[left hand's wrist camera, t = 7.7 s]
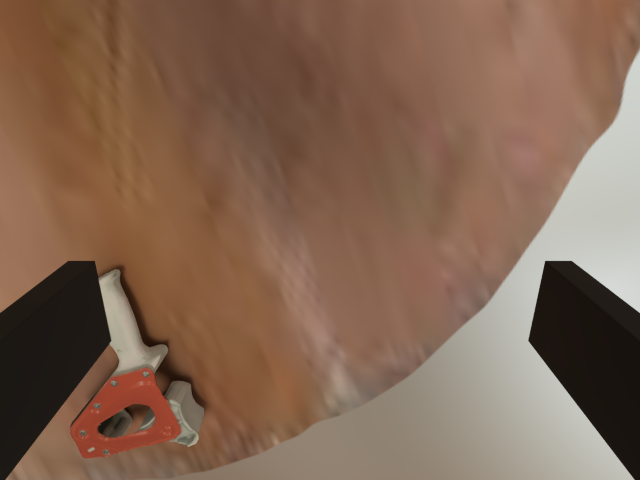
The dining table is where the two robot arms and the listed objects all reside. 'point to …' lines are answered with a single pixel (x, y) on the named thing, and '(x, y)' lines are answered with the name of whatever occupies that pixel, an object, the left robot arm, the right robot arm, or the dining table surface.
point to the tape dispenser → (133, 390)
